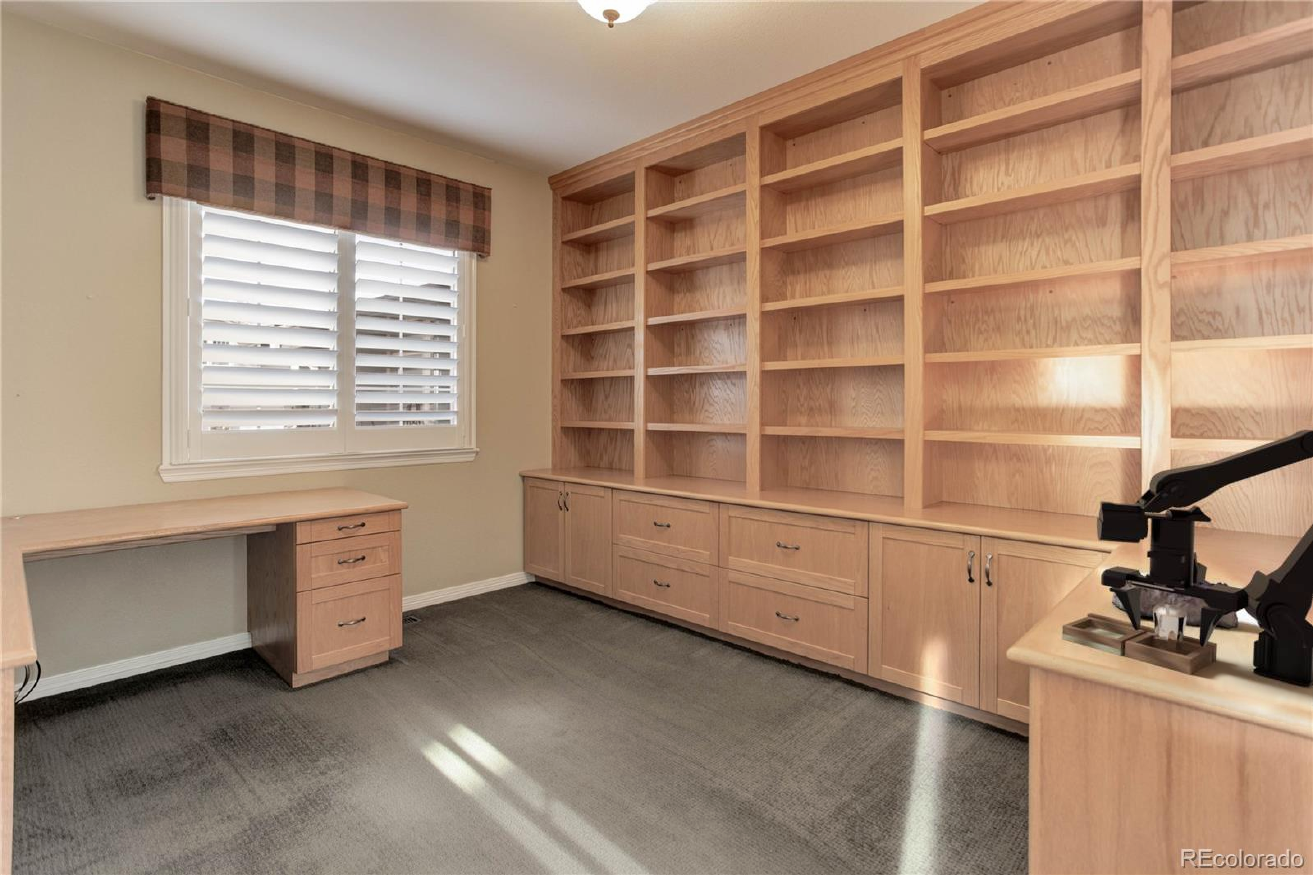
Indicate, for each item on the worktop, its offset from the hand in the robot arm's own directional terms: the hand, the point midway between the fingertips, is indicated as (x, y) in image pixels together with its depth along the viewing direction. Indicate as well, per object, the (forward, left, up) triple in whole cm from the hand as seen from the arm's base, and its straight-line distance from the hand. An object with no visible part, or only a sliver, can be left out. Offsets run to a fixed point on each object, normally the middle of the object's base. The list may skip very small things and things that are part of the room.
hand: (1169, 637), depth 108 cm
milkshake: (0, 0, -4) cm, 4 cm away
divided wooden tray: (+5, 0, -4) cm, 6 cm away
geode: (+9, -27, -4) cm, 29 cm away
